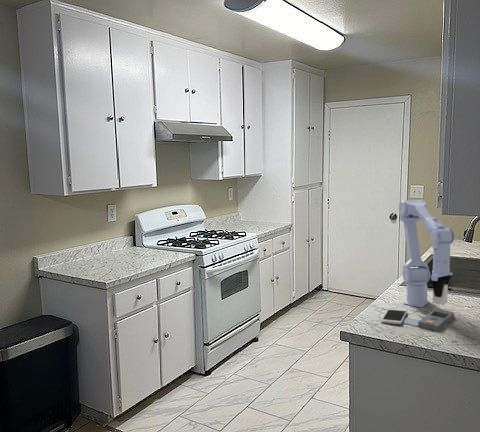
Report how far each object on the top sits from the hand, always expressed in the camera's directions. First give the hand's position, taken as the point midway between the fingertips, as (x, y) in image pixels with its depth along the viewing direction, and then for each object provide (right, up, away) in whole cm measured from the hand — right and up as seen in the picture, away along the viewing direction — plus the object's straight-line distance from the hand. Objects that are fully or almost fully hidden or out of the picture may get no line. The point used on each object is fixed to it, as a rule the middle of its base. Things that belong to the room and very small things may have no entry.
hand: (440, 295), depth 170 cm
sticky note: (-11, -10, -1) cm, 15 cm away
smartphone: (-16, -10, +4) cm, 19 cm away
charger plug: (0, -3, 0) cm, 3 cm away
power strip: (-2, -10, -1) cm, 10 cm away
